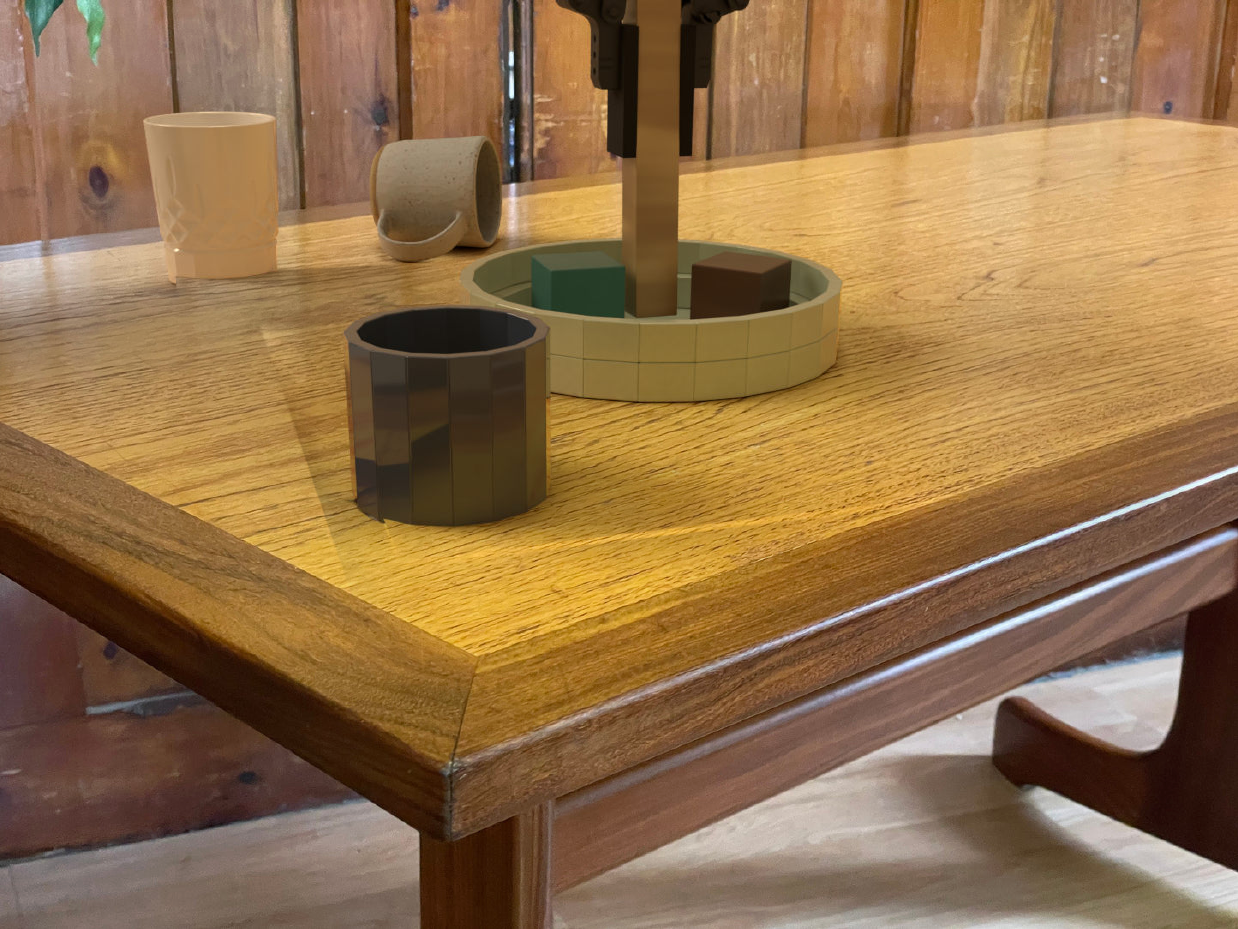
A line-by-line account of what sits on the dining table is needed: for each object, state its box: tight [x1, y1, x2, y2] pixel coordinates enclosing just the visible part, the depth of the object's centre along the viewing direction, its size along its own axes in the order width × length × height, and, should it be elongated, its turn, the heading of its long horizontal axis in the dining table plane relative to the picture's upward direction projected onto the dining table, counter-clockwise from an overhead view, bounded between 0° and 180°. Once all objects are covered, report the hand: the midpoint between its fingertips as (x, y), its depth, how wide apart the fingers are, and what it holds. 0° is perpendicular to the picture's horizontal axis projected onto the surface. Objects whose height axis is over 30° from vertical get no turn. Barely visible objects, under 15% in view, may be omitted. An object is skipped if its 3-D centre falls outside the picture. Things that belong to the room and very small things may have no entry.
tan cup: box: [142, 111, 279, 285], centre depth 86 cm, size 8×8×10 cm
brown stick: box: [621, 0, 681, 318], centre depth 72 cm, size 2×2×20 cm
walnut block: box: [690, 251, 792, 320], centre depth 73 cm, size 4×4×4 cm
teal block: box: [531, 251, 625, 319], centre depth 73 cm, size 4×4×4 cm
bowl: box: [458, 237, 844, 403], centre depth 71 cm, size 19×19×4 cm
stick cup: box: [342, 304, 552, 528], centre depth 51 cm, size 7×7×7 cm
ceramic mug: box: [368, 135, 503, 263], centre depth 96 cm, size 11×8×8 cm
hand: (649, 152), depth 73 cm, fingers closed on brown stick, 2 cm apart
